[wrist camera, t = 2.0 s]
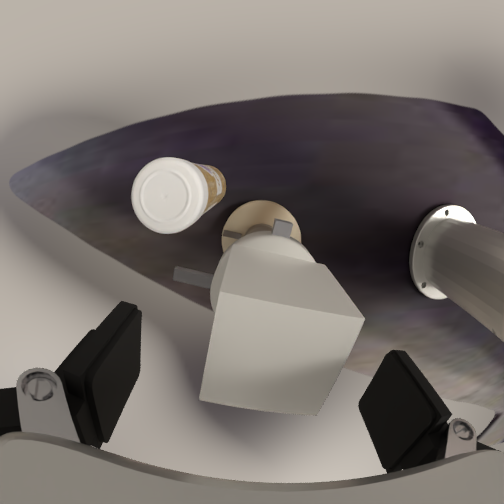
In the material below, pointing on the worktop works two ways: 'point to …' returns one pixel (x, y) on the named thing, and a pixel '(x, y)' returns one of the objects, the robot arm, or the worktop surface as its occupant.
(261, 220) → the post base
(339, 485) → the robot arm
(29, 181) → the worktop surface
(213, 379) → the coupling cap
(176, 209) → the sprinkles bottle
